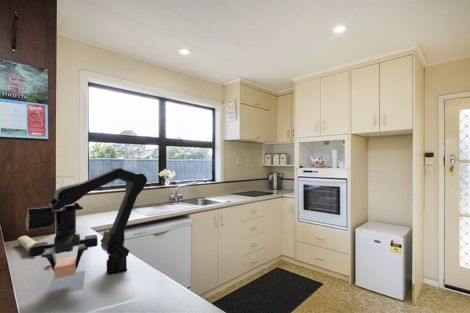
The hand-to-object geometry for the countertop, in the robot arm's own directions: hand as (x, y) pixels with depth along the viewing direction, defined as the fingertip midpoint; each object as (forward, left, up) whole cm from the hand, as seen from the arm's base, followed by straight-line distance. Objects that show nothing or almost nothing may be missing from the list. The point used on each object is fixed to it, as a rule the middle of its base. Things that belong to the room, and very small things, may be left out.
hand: (66, 270), depth 83 cm
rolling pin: (+20, -56, -6) cm, 60 cm away
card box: (0, 0, 0) cm, 0 cm away
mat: (0, -3, -6) cm, 7 cm away
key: (+6, -17, -7) cm, 20 cm away
